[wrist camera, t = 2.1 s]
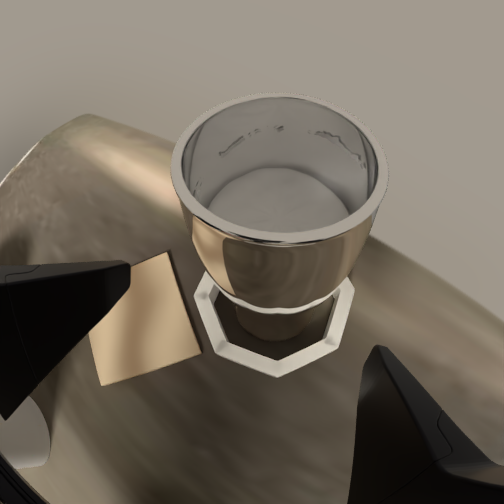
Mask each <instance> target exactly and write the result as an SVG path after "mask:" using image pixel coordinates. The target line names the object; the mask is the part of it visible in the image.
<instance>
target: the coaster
mask: <svg viewBox="0 0 504 504" xmlns="http://www.w3.org/2000/svg"><path fill="white" fill-rule="evenodd" d="M89 337H90V342H91V347H92V351H93V356H94V360H95V364H96V368H97V372H98V376H99V379H100V383H101V386H105V385H109V384H112V383H116V382H119V381H122V380H126V379H129V378H132V377H135V376H138V375H142V374H145V373H148V372H151V371H154V370H157V369H160V368H163V367H166V366H169V365H171V364H174V363H177V362H180V361H183V360H185V359H188V358H191V357H194V356H196V355H199V354H202V352H201V350H200V347H199V344H198V342H197V339H196V336H195V334H194V331H193V328H192V325H191V323H190V320H189V317H188V314H187V311H186V308H185V305H184V302H183V300H182V297H181V294H180V290H179V287H178V284H177V281H176V278H175V275H174V272H173V268H172V265H171V262H170V259H169V255H168V253H167V252H165V253H163V254H161V255H158V256H156V257H153V258H151V259H149V260H146V261H144V262H142V263H139V264H137V265H135V266H132V267H131V285H130V288H129V289H128V291H127V292H126V293H125V294H124V295H123V296H122V297H121V299H120V300H119V301H118V302H117V303H116V304H115V306H114V307H113V308H112V309H111V310H110V312H109V313H108V314H107V315H106V316H105V317H104V318H103V319H102V320H101V321H100V322H99V323H98V324H97V325H96V326H95V327H94V328H93V329H92V330H91V331H90V332H89Z"/></svg>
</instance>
